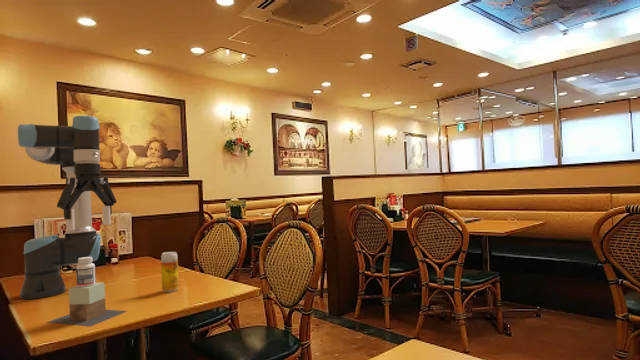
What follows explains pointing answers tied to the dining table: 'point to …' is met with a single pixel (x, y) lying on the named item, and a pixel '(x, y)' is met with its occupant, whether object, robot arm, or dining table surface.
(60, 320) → the mat
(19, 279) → the dining table surface
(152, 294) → the dining table surface
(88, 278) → the pill bottle
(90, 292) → the block upper
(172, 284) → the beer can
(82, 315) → the block lower
